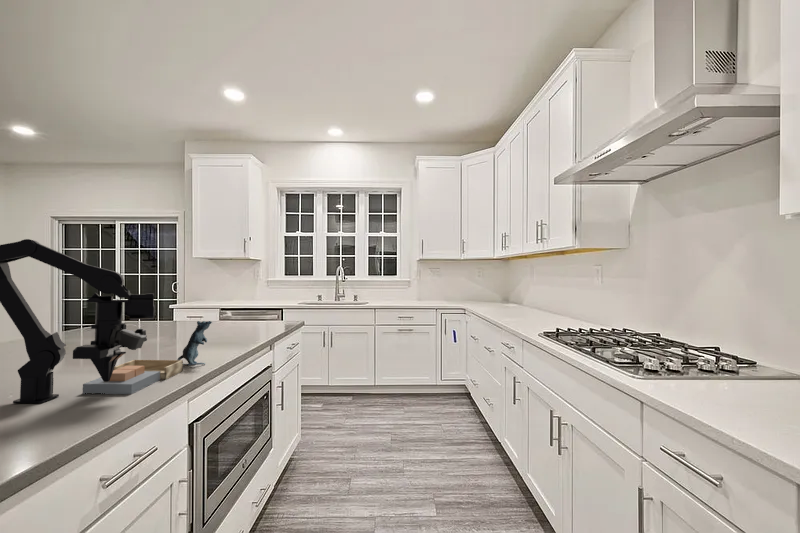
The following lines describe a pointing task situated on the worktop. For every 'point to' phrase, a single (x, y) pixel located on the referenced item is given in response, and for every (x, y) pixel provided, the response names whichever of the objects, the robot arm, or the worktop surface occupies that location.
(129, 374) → the tile near
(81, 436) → the worktop surface
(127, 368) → the tile far
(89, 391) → the slate board
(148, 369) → the tray
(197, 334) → the sculpture
